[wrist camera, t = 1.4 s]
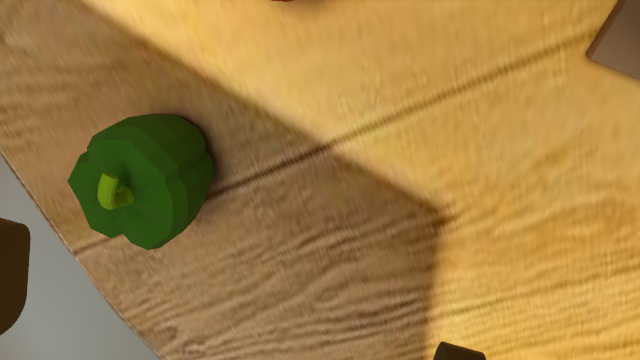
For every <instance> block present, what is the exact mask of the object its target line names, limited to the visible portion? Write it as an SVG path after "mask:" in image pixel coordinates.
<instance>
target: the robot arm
mask: <svg viewBox="0 0 640 360" xmlns="http://www.w3.org/2000/svg"><path fill="white" fill-rule="evenodd" d="M29 252H30V232H29V229H28V227H27V226H26V225H24V224H21V223H18V222H14V221H10V220H6V219H3V218H0V335H1V334H3V333H4V332H5V331H7V330H8V329H9V328H11V327H12V325H13V324H14V323H15V322H16V321H17V319H18V318H19V316H20V314H21V312H22V310H23V308H24V305H25V301H26V296H27V282H28V267H29ZM433 360H486V358H485V355H484V353H482V352H478V351H475V350H471V349H468V348H464V347H460V346H457V345H453V344H450V343H446V342H441V343H440V344H439V346H438V348H437V350H436V353H435V356H434V359H433Z"/></svg>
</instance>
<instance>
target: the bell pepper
mask: <svg viewBox="0 0 640 360" xmlns="http://www.w3.org/2000/svg"><path fill="white" fill-rule="evenodd" d="M205 146H206V142H205V140H204V138H203V136H202V134H201V132H200V130H199V129H198V128H197V127H195V126H194V125H192V124H190V123H189V122H187V121H186V120H184V119H183V118H182V117H180V116H177V115H168V114H148V115H141V116H135V117H128V118H126V119H124V120H122V121H120V122H118V123H116V124H114V125H112V126H110V127H108V128H106V129H104V130H103V131H101V132H99V133H98V134H96V135H94V136H93V137H92V139H91V141H90V143H89V145H88V147H87V152H85V153H83V154H81V155H80V157H79V159H78V161H77V163H76V165H75V167H74V169H73V171H72V173H71V175H70V177H69V179H68V181H67V182H68V183H69V185H70V187H71V188H72V190H73V192H74V193H75V195H76V197H77V199H78V200H79V202H80V204H81V207H82V209H83V211H84V214H85V216H86V219H87V221H88V223H89V226H90V228H91V229H93V230H95V231H97V232H99V233H101V234H104V235H106V236H108V237H110V238H113V237H115V236H118V235H120V234H124V235H125V236H126V237H127V239H128V240H129V241H130V242H131V243H133V244H135V245H137V246H140V247H142V248H144V249H147V250H151V249H156V248H160V247H162V246H163V245H165V244H166V243H167V242H169V241H170V240H172V239H173V238H174V237H176V236H177V235H179V234H180V233H181V232H183V231H184V230H185V229H186V228H187V227H188V226H189V224H190V223H191V222H192V221H193V220H194V219H195V218H196V216H197V214H198V212H199V210H200V208H201V206H202V204H203V202H204V200H205V198H206V195H207V193H208V191H209V188H210V186H211V183H212V181H213V179H214V176H215V170H214V165H213V161H212V158H211V155H210V154H209V153H208V152H207V151H206V150H205Z"/></svg>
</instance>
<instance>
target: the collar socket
mask: <svg viewBox="0 0 640 360" xmlns="http://www.w3.org/2000/svg"><path fill="white" fill-rule="evenodd" d="M586 55H587V56H588V57H589V59H591V60H593V61H595V62H598V63H600V64H602V65H605V66H607V67H609V68H612V69H614V70H616V71H619V72H621V73H623V74H626V75H628V76H630V77H633V78H635V79H638V80H640V0H618V2H617V3H616V5H615V7H614V8H613V10H612V12H611V13H610V15H609V16H608V18H607V20H606V21H605V23H604V24H603V26H602V28H601V29H600V31H599V33H598V34H597V36H596V37H595V39H594V41H593V42H592V44H591V46H590V47H589V49H588V50H587V52H586Z"/></svg>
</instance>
